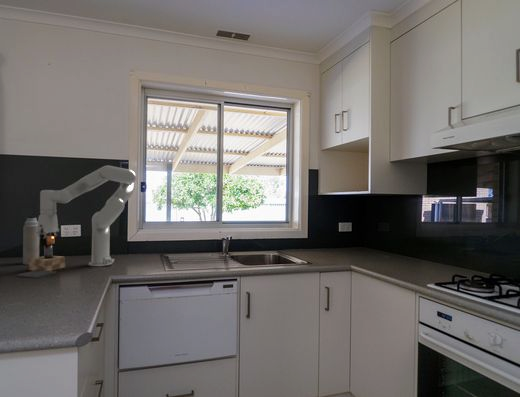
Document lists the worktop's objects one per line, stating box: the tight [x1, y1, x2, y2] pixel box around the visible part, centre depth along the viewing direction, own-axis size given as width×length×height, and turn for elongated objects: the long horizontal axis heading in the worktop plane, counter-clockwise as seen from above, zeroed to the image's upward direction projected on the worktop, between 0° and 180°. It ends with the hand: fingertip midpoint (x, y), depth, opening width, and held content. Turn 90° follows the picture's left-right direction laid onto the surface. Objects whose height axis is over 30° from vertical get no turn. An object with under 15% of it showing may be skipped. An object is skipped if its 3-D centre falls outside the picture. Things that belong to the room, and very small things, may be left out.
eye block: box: [28, 255, 66, 271], centre depth 189 cm, size 12×12×6 cm
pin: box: [43, 235, 56, 259], centre depth 189 cm, size 6×6×14 cm
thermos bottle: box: [22, 215, 40, 265], centre depth 202 cm, size 8×8×28 cm
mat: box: [16, 270, 57, 279], centre depth 174 cm, size 12×12×1 cm
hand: (48, 244), depth 189 cm, fingers closed on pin, 6 cm apart
